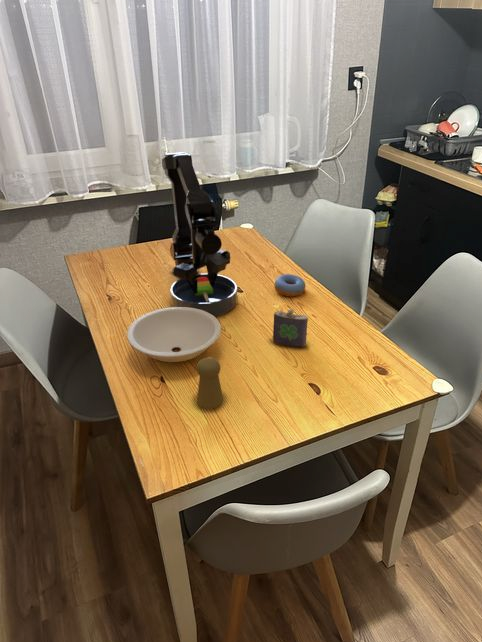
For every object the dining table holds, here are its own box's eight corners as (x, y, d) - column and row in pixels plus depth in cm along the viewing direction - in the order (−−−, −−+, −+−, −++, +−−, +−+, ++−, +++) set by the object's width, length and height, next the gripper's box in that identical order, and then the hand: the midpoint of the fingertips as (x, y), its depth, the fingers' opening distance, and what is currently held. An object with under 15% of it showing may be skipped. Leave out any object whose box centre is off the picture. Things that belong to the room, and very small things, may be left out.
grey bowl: (145, 388, 118) (141, 366, 114) (120, 339, 136) (116, 318, 132) (236, 362, 127) (236, 340, 124) (202, 319, 145) (200, 299, 142)
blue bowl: (158, 303, 153) (156, 289, 150) (204, 281, 166) (203, 268, 164) (205, 326, 142) (204, 310, 140) (250, 300, 156) (250, 286, 153)
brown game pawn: (197, 392, 117) (194, 354, 111) (223, 391, 117) (221, 353, 112) (196, 409, 112) (193, 370, 106) (223, 408, 112) (222, 369, 106)
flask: (306, 343, 135) (309, 309, 130) (304, 349, 133) (306, 314, 127) (274, 338, 137) (275, 304, 132) (271, 343, 135) (272, 309, 129)
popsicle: (207, 281, 159) (207, 275, 158) (217, 303, 147) (217, 297, 146) (190, 283, 158) (189, 277, 157) (199, 305, 146) (198, 299, 145)
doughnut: (310, 294, 159) (311, 282, 157) (283, 301, 156) (283, 288, 153) (295, 282, 167) (296, 269, 164) (269, 287, 163) (269, 275, 161)
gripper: (198, 258, 133) (201, 309, 142) (243, 239, 146) (243, 286, 154) (170, 248, 139) (174, 297, 147) (215, 230, 151) (217, 276, 160)
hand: (203, 289), depth 152 cm, fingers closed on popsicle, 7 cm apart
